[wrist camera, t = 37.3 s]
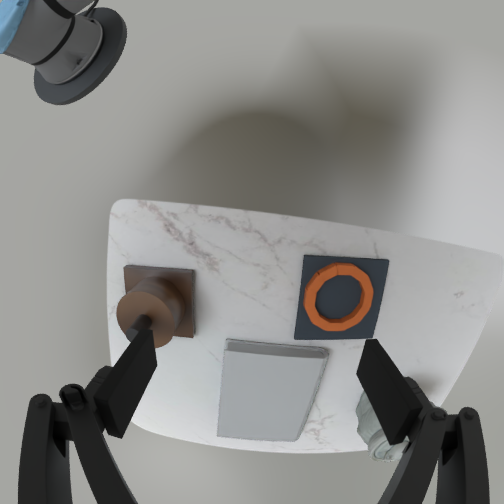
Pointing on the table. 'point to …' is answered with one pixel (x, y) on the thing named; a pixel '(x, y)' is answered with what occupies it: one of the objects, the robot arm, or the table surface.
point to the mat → (340, 298)
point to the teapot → (377, 433)
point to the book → (268, 389)
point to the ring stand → (157, 303)
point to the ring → (325, 275)
